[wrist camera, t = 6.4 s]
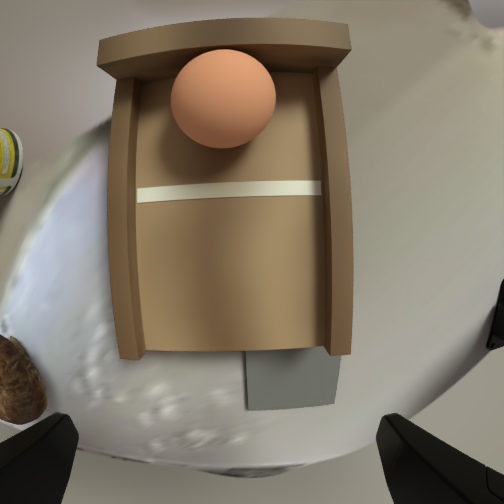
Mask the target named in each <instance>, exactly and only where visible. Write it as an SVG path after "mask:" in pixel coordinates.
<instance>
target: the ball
mask: <svg viewBox="0 0 504 504" xmlns="http://www.w3.org/2000/svg"><path fill="white" fill-rule="evenodd" d="M275 103H276V92H275V87H274V83H273V81H272V78H271V76H270V74H269V73H268V71H267V70H266V69H265V67H264V66H263V65H262V64H261V63H260V62H259V61H257V60H256V59H255V58H253V57H251V56H250V55H247V54H245V53H243V52H239V51H235V50H227V49H222V50H214V51H210V52H206V53H204V54H201V55H199V56H197V57H196V58H194V59H193V60H191V61H190V62H189V63H188V64H187V65H186V66H184V68H183V69H182V70H181V71H180V73H179V74H178V76H177V78H176V79H175V82H174V85H173V87H172V92H171V108H172V112H173V116H174V118H175V121H176V122H177V124H178V126H179V127H180V128H181V130H182V131H183V132H184V133H185V134H186V135H187V136H188V137H190V138H191V139H192V140H194V141H196V142H197V143H200V144H202V145H205V146H208V147H213V148H232V147H236V146H239V145H242V144H245V143H247V142H249V141H251V140H252V139H254V138H255V137H256V136H258V135H259V134H260V133H261V132H262V131H263V130H264V129H265V127H266V126H267V125H268V123H269V122H270V120H271V117H272V115H273V112H274V109H275Z"/></svg>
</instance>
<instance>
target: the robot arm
mask: <svg viewBox="0 0 504 504" xmlns="http://www.w3.org/2000/svg"><path fill="white" fill-rule="evenodd" d="M503 346H504V279H503V281H502V284H501V289H500V294H499V299H498V303H497V308H496V312H495V316H494V320H493V324H492V328H491V331H490V335H489V338H488V342H487V345H486V348H487V349H489V350H490V351H491V350H494V349H497V348H500V347H503ZM78 440H79V435H78V431H77V429H76V428H75V426H74V424H73V422H72V419H71V418H70V416H69V415H68V414H64V413H60V412H56V413H54V414H52V415H50V416H49V417H47V418H45V419H43V420H41V421H40V422H38V423H36V424H34V425H33V426H31V427H29V428H27V429H25V430H23V431H22V432H20V433H18V434H16V435H14V436H12V437H11V438H9V439H7V440H5V441H3V442H1V443H0V504H61V502H62V499H63V495H64V493H65V490H66V487H67V483H68V481H69V478H70V474H71V469H72V465H73V461H74V456H75V452H76V448H77V444H78ZM376 442H377V446H378V450H379V454H380V458H381V462H382V466H383V470H384V475H385V479H386V483H387V486H388V488H389V491H390V494H391V497H392V499H393V502H394V504H504V475H503V474H501V473H499V472H497V471H495V470H493V469H491V468H490V467H486V466H485V465H484V464H482V463H480V462H478V461H477V460H475V459H473V458H471V457H469V456H468V455H466V454H464V453H462V452H461V451H459V450H457V449H455V448H454V447H452V446H450V445H448V444H447V443H445V442H444V441H442V440H440V439H438V438H437V437H435V436H433V435H432V434H430V433H428V432H427V431H425V430H424V429H422V428H420V427H419V426H417V425H415V424H414V423H412V422H411V421H409V420H407V419H406V418H404V417H403V416H401V415H399V414H398V413H392V414H388V415H384V416H383V417H382V419H381V421H380V425H379V428H378V431H377V434H376Z"/></svg>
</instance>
